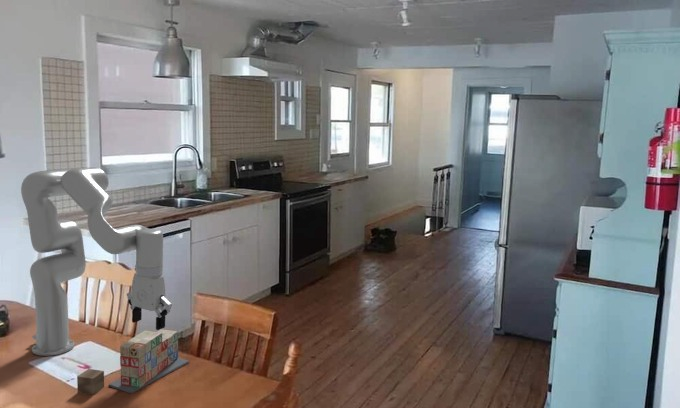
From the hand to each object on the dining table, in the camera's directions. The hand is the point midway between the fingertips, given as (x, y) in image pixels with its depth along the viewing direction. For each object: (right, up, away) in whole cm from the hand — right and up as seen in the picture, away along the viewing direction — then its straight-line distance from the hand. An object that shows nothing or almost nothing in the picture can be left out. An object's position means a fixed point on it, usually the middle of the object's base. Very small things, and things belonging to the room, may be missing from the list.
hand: (148, 324), depth 166 cm
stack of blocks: (0, -15, +2) cm, 15 cm away
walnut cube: (-13, -17, -9) cm, 23 cm away
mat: (0, -15, +2) cm, 16 cm away
